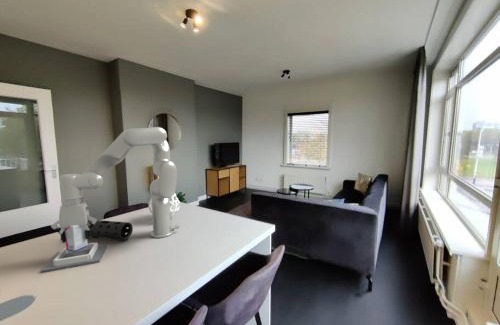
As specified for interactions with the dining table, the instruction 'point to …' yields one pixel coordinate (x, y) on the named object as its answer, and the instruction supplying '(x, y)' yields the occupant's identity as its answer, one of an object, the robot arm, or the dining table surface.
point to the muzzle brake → (111, 230)
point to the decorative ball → (174, 200)
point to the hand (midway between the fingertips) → (76, 239)
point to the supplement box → (75, 238)
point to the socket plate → (75, 258)
